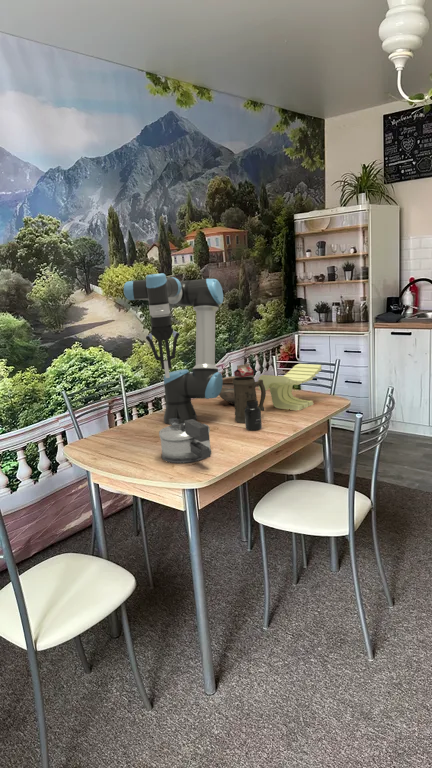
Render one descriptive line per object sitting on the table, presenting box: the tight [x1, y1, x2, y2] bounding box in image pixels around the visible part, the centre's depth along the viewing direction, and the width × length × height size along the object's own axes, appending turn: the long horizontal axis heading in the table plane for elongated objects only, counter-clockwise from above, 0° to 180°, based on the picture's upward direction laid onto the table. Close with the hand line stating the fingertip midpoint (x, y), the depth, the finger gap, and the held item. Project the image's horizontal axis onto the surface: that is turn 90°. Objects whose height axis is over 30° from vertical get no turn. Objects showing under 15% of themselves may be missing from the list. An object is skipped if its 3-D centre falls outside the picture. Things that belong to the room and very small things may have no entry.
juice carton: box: [233, 363, 255, 379], centre depth 259 cm, size 7×7×22 cm
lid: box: [158, 418, 211, 442], centre depth 196 cm, size 30×19×6 cm, turn 27°
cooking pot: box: [218, 375, 235, 405], centre depth 276 cm, size 25×19×12 cm
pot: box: [159, 437, 212, 464], centre depth 197 cm, size 31×18×8 cm, turn 26°
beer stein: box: [233, 377, 267, 424], centre depth 241 cm, size 15×10×20 cm
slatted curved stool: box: [257, 363, 322, 411], centre depth 259 cm, size 30×16×18 cm, turn 138°
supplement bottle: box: [244, 399, 262, 432], centre depth 226 cm, size 7×7×12 cm
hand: (167, 377), depth 207 cm, fingers closed
